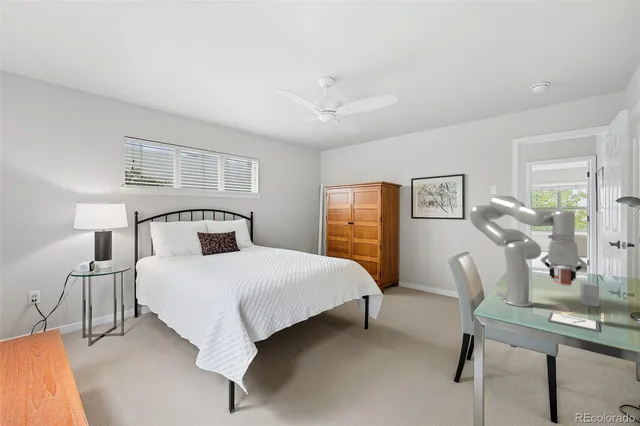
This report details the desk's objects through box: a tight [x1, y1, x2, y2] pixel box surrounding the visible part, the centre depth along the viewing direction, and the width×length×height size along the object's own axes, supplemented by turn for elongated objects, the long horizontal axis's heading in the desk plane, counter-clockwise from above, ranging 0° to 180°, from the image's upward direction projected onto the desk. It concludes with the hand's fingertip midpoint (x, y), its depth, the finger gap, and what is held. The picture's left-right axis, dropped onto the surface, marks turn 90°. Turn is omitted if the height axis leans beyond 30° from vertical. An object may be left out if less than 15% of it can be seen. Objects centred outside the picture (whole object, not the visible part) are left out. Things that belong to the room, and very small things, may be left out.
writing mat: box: [547, 312, 601, 333], centre depth 124 cm, size 16×13×1 cm
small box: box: [579, 281, 600, 308], centre depth 147 cm, size 8×6×10 cm
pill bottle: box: [553, 264, 573, 287], centre depth 129 cm, size 6×6×11 cm
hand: (562, 278), depth 129 cm, fingers closed on pill bottle, 6 cm apart
